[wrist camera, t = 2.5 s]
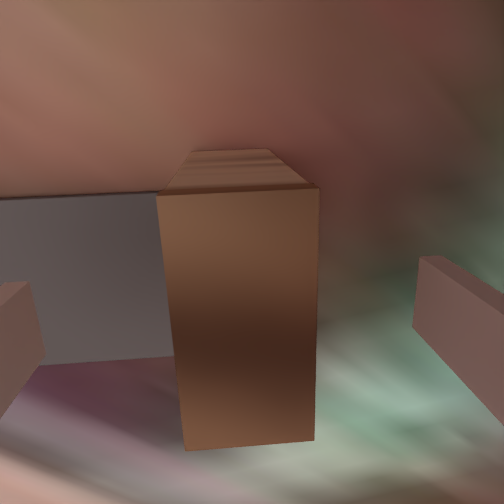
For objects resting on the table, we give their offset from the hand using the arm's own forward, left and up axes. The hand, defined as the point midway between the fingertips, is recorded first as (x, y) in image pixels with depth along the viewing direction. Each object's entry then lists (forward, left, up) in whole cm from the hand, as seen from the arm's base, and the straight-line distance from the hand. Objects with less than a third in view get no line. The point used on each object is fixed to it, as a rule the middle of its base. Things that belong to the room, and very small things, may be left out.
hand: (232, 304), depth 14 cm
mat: (+3, -13, -10) cm, 16 cm away
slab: (0, 0, -10) cm, 10 cm away
